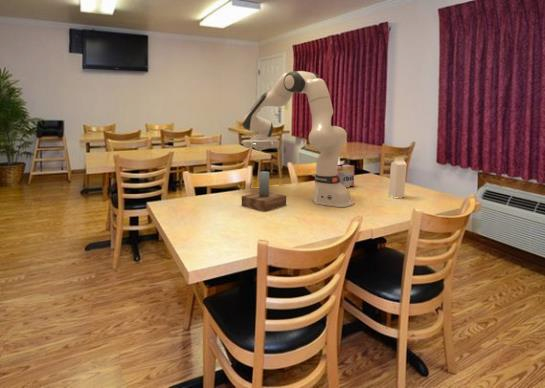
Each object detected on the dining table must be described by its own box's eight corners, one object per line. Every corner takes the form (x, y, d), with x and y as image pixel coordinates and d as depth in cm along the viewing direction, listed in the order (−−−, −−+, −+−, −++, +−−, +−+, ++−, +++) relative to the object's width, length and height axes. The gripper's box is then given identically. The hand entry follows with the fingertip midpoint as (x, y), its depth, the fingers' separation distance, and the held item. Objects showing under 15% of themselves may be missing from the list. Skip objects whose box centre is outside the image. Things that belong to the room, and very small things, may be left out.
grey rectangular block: (270, 195, 196) (271, 172, 193) (264, 197, 192) (264, 173, 189) (263, 194, 199) (263, 170, 196) (256, 195, 195) (257, 172, 192)
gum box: (346, 184, 248) (347, 163, 245) (355, 186, 242) (356, 165, 238) (317, 188, 235) (318, 166, 232) (326, 191, 229) (327, 168, 226)
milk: (403, 198, 214) (407, 158, 209) (394, 198, 212) (397, 158, 207) (397, 195, 220) (401, 156, 214) (388, 196, 218) (391, 157, 213)
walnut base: (286, 205, 198) (286, 195, 197) (265, 211, 186) (265, 201, 185) (262, 199, 208) (262, 190, 207) (241, 205, 196) (241, 196, 195)
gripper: (241, 136, 223) (243, 139, 210) (276, 136, 226) (281, 139, 213) (241, 148, 224) (243, 151, 211) (276, 147, 228) (281, 150, 214)
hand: (263, 145), depth 212 cm, fingers open, 8 cm apart
